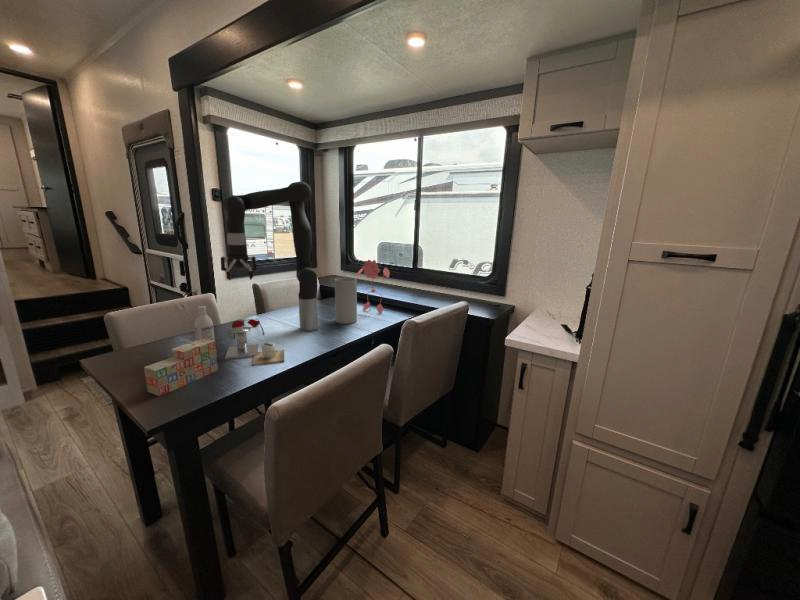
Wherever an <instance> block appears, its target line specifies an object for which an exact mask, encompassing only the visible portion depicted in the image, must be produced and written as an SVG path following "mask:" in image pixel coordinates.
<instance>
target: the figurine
mask: <svg viewBox="0 0 800 600" xmlns="http://www.w3.org/2000/svg"><path fill="white" fill-rule="evenodd" d="M362 272H363V274H364V275H366V278H367V279H371V280H370V284H371V290H370V291H368V292H367V293H366V295H367V299H369V293H372V294H374V293H376V294H378V295H379V296H380V299H382V296H383V295H382V294H381V293H379V292H377V291H376V289H375V288H374V286H373V280H375V278H379V279H383V280H384V279H385V277H386V278H387V279H389V278H390V275H391V272H390V269H388V268H386V267H384V269H383V277H380V276H379V273H380V272H381V269H380V268H379V264H378V263H377V261H376V260H375V259H373V260H370V259H368V260H365V261H364V265H363V266H362V268H361V269H359V270H358V272H357V274H356V275H355V277H358V276H359V275H360V274H362ZM379 301H380V302H379V304H377V307H376V310H377V312H378V314H379V315H381V313H383V310H384V307H383V305H382V304H381V302H382V300H379ZM370 305H371V302H370V301H367V302H366V303H365V304H364V305H363V307H362V311H363V312H365V311H367V309H368V308H369V311H371V310H372V309H371V306H370ZM359 316H361V314H360V313H359ZM364 317H366V318H367V317H368V318H369V316H366V315H364Z"/></svg>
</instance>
